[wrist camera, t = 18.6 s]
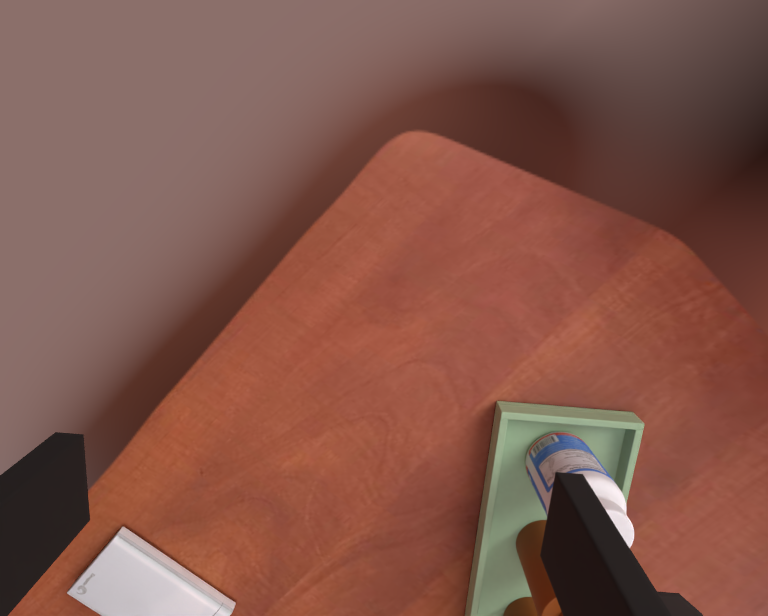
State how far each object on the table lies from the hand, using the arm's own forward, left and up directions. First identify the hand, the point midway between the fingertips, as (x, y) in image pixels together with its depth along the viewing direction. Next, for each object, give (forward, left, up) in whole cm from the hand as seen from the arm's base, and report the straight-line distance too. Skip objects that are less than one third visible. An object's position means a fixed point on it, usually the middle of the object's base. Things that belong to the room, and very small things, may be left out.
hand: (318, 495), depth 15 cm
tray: (+21, +17, -27) cm, 38 cm away
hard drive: (+30, -17, -27) cm, 44 cm away
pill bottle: (+13, +17, -26) cm, 34 cm away
